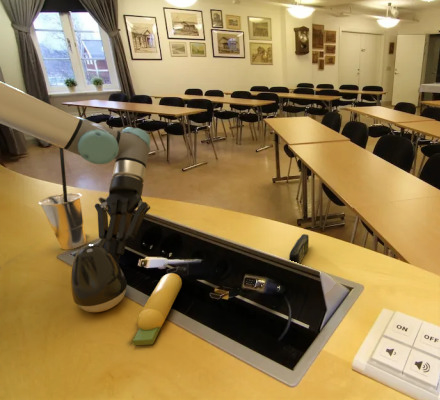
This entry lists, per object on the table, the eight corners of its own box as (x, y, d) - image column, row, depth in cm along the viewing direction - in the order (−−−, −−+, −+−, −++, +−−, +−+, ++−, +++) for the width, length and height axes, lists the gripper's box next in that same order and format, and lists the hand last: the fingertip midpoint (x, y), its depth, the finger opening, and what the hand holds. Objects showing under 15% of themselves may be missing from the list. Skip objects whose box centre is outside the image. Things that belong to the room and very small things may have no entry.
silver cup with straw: (86, 232, 107) (61, 143, 96) (101, 242, 101) (76, 147, 90) (46, 244, 99) (14, 149, 88) (60, 256, 93) (27, 154, 82)
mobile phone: (298, 255, 85) (311, 230, 99) (287, 254, 86) (301, 229, 99) (298, 271, 87) (311, 244, 101) (288, 270, 88) (301, 243, 101)
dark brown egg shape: (138, 289, 79) (125, 234, 73) (115, 319, 69) (98, 258, 64) (96, 289, 78) (80, 234, 73) (66, 320, 69) (45, 259, 63)
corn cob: (130, 348, 62) (124, 327, 60) (164, 286, 80) (161, 269, 78) (157, 346, 62) (152, 326, 61) (185, 285, 80) (182, 268, 79)
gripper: (158, 186, 90) (146, 270, 81) (109, 187, 89) (91, 272, 79) (147, 173, 83) (133, 263, 74) (94, 174, 82) (72, 266, 73)
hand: (111, 268), depth 77 cm, fingers closed
